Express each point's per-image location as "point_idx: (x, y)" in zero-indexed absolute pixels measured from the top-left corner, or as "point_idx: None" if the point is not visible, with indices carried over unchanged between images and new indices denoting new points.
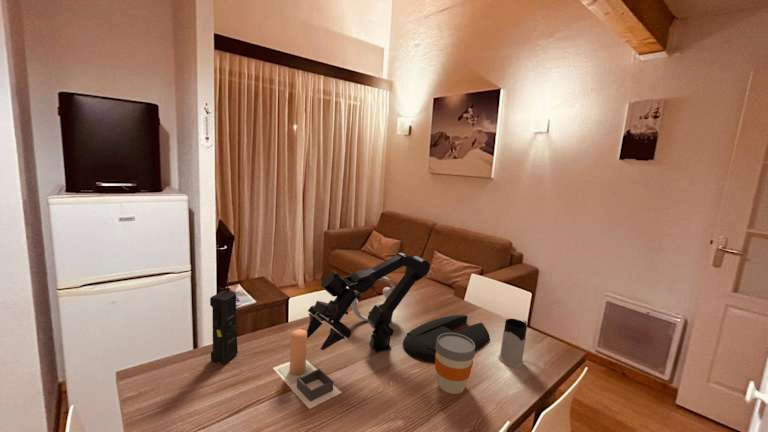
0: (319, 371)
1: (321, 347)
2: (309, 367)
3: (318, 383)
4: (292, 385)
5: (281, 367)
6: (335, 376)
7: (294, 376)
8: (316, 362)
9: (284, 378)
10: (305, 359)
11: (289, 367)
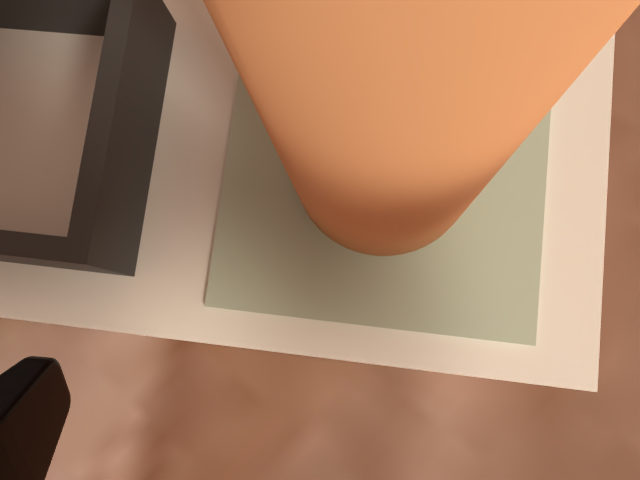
0: (52, 236)
1: (26, 371)
2: (337, 302)
3: (63, 210)
4: None
5: None
6: (65, 454)
7: None
8: (415, 472)
9: None
10: (288, 174)
11: None
